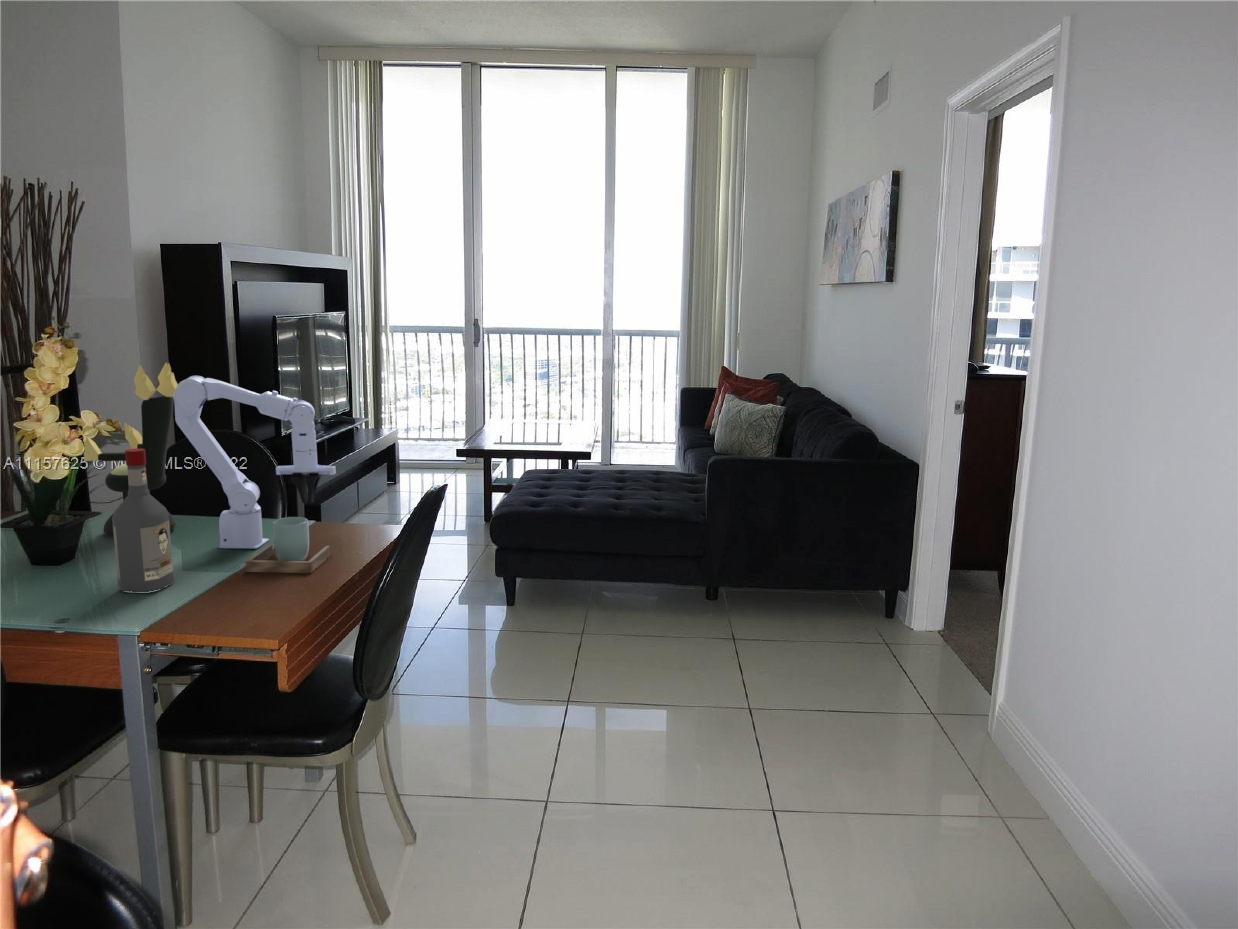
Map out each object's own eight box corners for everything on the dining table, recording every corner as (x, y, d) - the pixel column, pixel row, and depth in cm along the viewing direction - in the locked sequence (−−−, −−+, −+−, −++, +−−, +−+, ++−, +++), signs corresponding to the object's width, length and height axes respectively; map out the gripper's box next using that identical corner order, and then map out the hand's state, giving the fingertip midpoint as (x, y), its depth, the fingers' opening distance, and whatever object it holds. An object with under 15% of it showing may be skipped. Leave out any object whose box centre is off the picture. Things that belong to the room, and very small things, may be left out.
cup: (315, 557, 211) (313, 517, 209) (301, 567, 203) (299, 525, 201) (284, 556, 211) (281, 516, 210) (269, 565, 204) (266, 524, 202)
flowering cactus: (133, 521, 240) (118, 357, 232) (209, 525, 238) (197, 359, 229) (84, 539, 222) (67, 362, 213) (166, 544, 219) (152, 364, 211)
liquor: (112, 593, 184) (99, 453, 178) (139, 579, 192) (127, 445, 187) (154, 595, 183) (142, 454, 177) (179, 581, 192) (168, 447, 186)
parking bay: (245, 571, 199) (245, 561, 199) (268, 554, 212) (268, 544, 212) (311, 573, 199) (311, 562, 199) (330, 555, 212) (330, 545, 212)
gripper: (338, 447, 224) (341, 498, 226) (281, 446, 224) (285, 498, 226) (329, 451, 217) (332, 505, 219) (271, 451, 217) (275, 504, 219)
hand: (308, 502), depth 222 cm, fingers closed
